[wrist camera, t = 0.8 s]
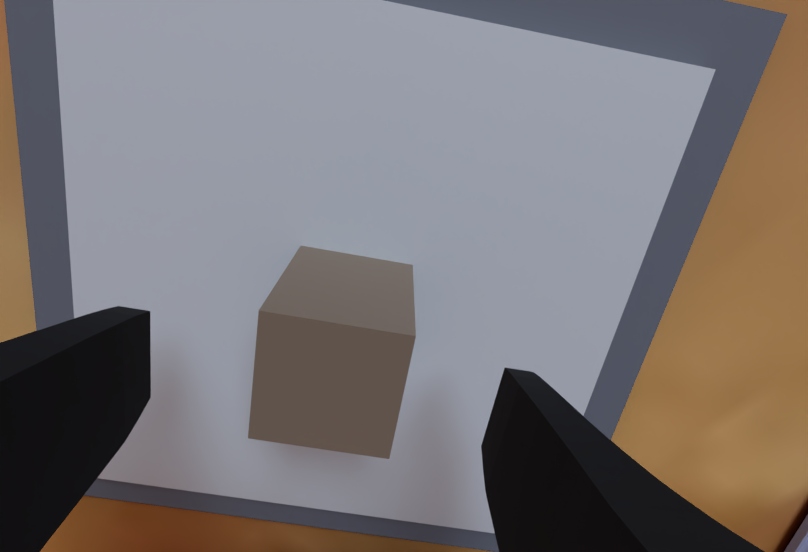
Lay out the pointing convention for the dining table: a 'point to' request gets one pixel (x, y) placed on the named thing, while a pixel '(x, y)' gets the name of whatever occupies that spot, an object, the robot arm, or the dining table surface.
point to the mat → (496, 3)
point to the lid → (354, 232)
